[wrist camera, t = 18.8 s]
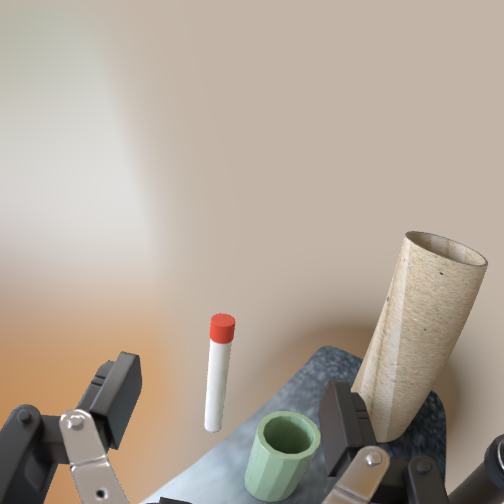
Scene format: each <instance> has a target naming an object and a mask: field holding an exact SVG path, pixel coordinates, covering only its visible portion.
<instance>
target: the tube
mask: <svg viewBox="0 0 504 504" xmlns="http://www.w3.org/2000/svg"><path fill="white" fill-rule="evenodd" d="M487 266H488V262H487V260H486V259H485V258H484V257H483V256H482V255H481V254H479V253H478V252H476V251H474V250H473V249H470V248H469V247H466V246H465V245H462V244H460V243H458V242H455V241H453V240H450V239H447V238H444V237H441V236H438V235H433V234H429V233H424V232H415V231H412V232H407V233H406V234H405V237H404V241H403V245H402V248H401V252H400V256H399V259H398V263H397V266H396V269H395V273H394V276H393V279H392V282H391V285H390V289H389V292H388V295H387V298H386V301H385V304H384V307H383V310H382V313H381V315H380V318H379V321H378V324H377V326H376V329H375V332H374V334H373V337H372V340H371V342H370V345H369V348H368V350H367V353H366V355H365V358H364V360H363V363H362V365H361V367H360V370H359V372H358V374H357V377H356V379H355V381H354V384H353V386H352V388H351V392H357V393H358V394H359V395H360V396H361V397H362V399H363V400H364V401H365V404H366V408H367V412H368V414H369V417H370V418H369V419H370V421H371V424H372V427H373V430H374V434H375V437H376V440H377V442H383V443H384V442H389V441H393V440H395V439H397V438H399V437H400V436H401V435H402V434H403V433H404V432H405V430H406V429H407V427H408V426H409V424H410V423H411V421H412V420H413V418H414V417H415V415H416V414H417V412H418V411H419V409H420V407H421V406H422V404H423V403H424V401H425V399H426V398H427V396H428V394H429V393H430V391H431V389H432V387H433V386H434V384H435V382H436V380H437V378H438V377H439V375H440V373H441V371H442V370H443V368H444V366H445V364H446V362H447V360H448V358H449V356H450V354H451V352H452V350H453V348H454V346H455V344H456V342H457V340H458V338H459V336H460V334H461V331H462V329H463V327H464V325H465V322H466V320H467V318H468V316H469V313H470V311H471V309H472V306H473V304H474V301H475V299H476V296H477V294H478V291H479V289H480V286H481V283H482V281H483V278H484V275H485V272H486V269H487Z"/></svg>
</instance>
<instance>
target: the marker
mask: <svg viewBox="0 0 504 504" xmlns="http://www.w3.org/2000/svg"><path fill="white" fill-rule="evenodd" d="M234 329H235V319H234V318H233V317H232V316H230V315H227V314H216V315H214V316H213V317H212V318H211V327H210V338H211V341H210V353H209V367H208V380H207V395H206V411H205V428H206V430H207V431H209V432H218V431H219V430H220V429H221V424H222V416H223V408H224V399H225V391H226V382H227V375H228V367H229V359H230V351H231V343H232V340H233V336H234Z"/></svg>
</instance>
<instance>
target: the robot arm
mask: <svg viewBox="0 0 504 504" xmlns="http://www.w3.org/2000/svg"><path fill="white" fill-rule="evenodd" d="M141 388H142V375H141V367H140V358H139V355H136V354H131V353H126V352H121V353H120V354H119V356H118V358H117V360H116V361H115V362H113V361H110V360H109V361H107V362H106V363H105V364H103V365H102V366H101V367H100V368H99V369H98V371H97V373H96V375H95V377H94V378H93V380H92V381H91V384H90V385H89V386H88V388H87V390H86V391H85V393H84V395H83V397H82V398H81V400H80V402H79V404H78V406H77V407H76V408H75V409H71V410H68V411H66V412H65V413H64V414H63V415H62V416H48V415H41V414H40V412H39V410H38V409H37V408H35V407H34V406H32V405H27V404H26V405H25V404H24V405H20V406H18V407H16V408H15V409H14V410H13V411H12V413H11V414H10V416H9V418H8V419H7V421H6V423H5V424H4V426H3V428H2V429H1V431H0V504H43V503H44V500H45V498H46V495H47V492H48V489H49V487H50V484H51V482H52V479H53V476H54V474H55V471H56V469H57V466H58V464H71V467H70V471H71V474H72V477H73V480H74V483H75V486H76V489H77V491H78V494H79V497H80V499H81V502H82V504H129V501H128V500H127V498H126V496H125V494H124V492H123V490H122V487H121V485H120V484H119V481H118V479H117V477H116V475H115V473H114V470H113V468H112V466H111V463H110V461H109V459H108V457H107V452H108V450H109V448H112V449H115V450H118V448H119V445H120V442H121V440H122V437H123V435H124V432H125V430H126V427H127V425H128V422H129V419H130V417H131V415H132V412H133V409H134V407H135V405H136V402H137V400H138V398H139V395H140V392H141ZM318 415H319V422H320V429H321V435H322V442H323V448H324V455H325V462H326V469H327V476H328V477H336V478H337V483H336V485H335V486H334V487H333V489H332V490H331V491H330V493H329V494H328V495H327V497H326V498H325V499H324V500H323V502H322V503H321V504H370V503H369V502H373V503H379V504H450V503H449V499H448V496H447V492H446V489H445V486H444V482H443V479H442V476H441V473H440V470H439V467H438V464H437V462H436V461H435V460H434V459H433V458H431V457H430V456H427V455H417V456H415V457H413V458H412V459H411V460H410V461H404V460H398V459H393V458H390V457H389V455H388V453H387V452H386V451H385V450H383V449H382V448H380V447H378V444H377V440H376V437H375V434H374V430H373V427H372V424H371V421H370V419H369V418H370V417H369V414H368V412H367V408H366V404H365V401H364V400H363V399H362V397H361V396H360V395H359V394H358V393H357V392H351V390H350V387H349V384H348V381H345V380H329V382H328V384H327V387H326V389H325V392H324V394H323V397H322V399H321V402H320V405H319V412H318ZM495 458H496V463H497V465H498V467H499V469H500V471H501V472H502V473H503V474H504V439H503V440H502V441H501V442H500V443H499V444H498V446H497V448H496V452H495ZM147 504H192V503H189V502H184V501H179V500H174V499H169V498H164V497H160V501H159V503H147Z"/></svg>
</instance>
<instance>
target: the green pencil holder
mask: <svg viewBox="0 0 504 504" xmlns="http://www.w3.org/2000/svg"><path fill="white" fill-rule="evenodd" d="M320 437H321V434H320V432H319V430H318V428H317V426H316V424H315V423H314V422H313V421H311V420H310V419H309V418H307V417H306V416H304V415H302V414H299V413H296V412H291V411H278V412H275V413H272V414H269V415H267V416H266V417H265V418H264V419H263V420H261V421H260V422H259V424H258V428H257V432H256V436H255V439H254V443H253V447H252V451H251V455H250V458H249V462H248V466H247V469H246V473H245V477H244V483H245V487H246V489H247V490H248V492H249V493H250V494H251V495H252V496H254V497H255V498H257V499H259V500H262V501H266V502H277V501H281V500H284V499H286V498H287V497H289V496H290V495H291V494H292V493H293V491H294V490H295V489H296V487H297V485H298V484H299V482H300V480H301V479H302V477H303V475H304V473H305V471H306V470H307V468H308V466H309V464H310V462H311V461H312V459H313V457H314V455H315V453H316V451H317V449H318V447H319V445H320Z"/></svg>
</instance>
